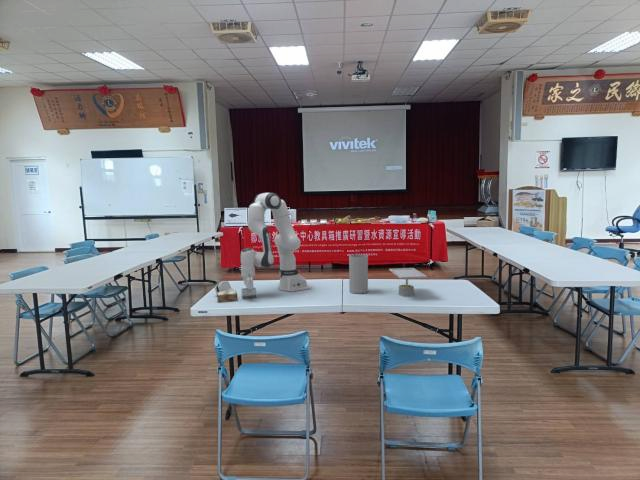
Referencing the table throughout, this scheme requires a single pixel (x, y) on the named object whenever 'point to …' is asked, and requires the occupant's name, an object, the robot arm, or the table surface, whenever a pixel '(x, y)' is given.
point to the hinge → (223, 287)
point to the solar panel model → (407, 273)
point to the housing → (245, 293)
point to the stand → (227, 296)
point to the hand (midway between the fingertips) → (248, 293)
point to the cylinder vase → (358, 273)
